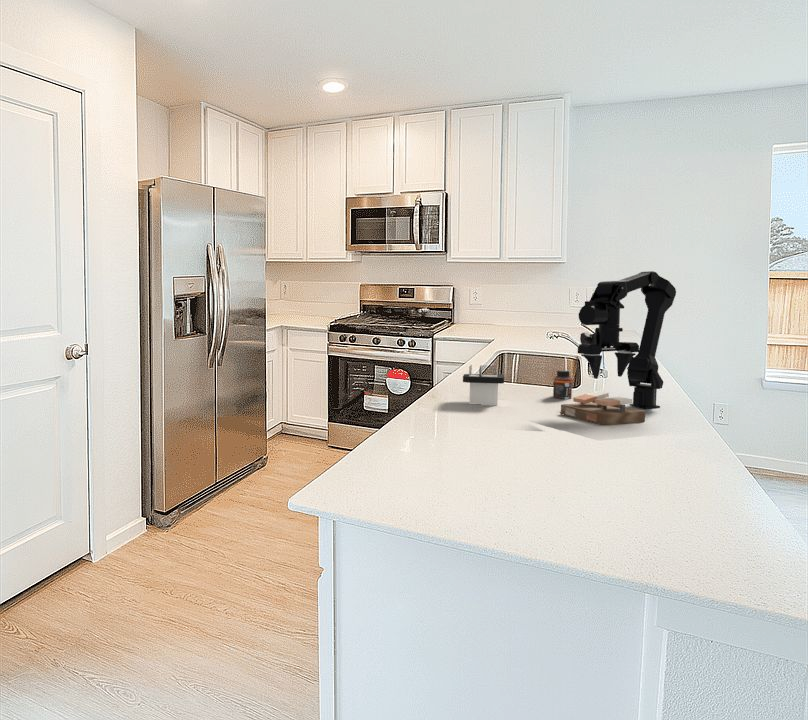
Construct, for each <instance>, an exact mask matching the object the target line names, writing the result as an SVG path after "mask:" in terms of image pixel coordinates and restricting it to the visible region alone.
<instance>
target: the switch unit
mask: <svg viewBox="0 0 808 720" xmlns="http://www.w3.org/2000/svg"><path fill="white" fill-rule="evenodd" d="M561 414H564V415H563V416H565V415H566V416H565V417H569V418H574V419H578V420H582V421H585V422H590V423H592V424H593V423H594V424H598V425H602V426H608V425H609V426H610V425H619V424H620V425H621V424H633V423H642V422H643V423H644V422H645V421H646V410H641V409H637V408H631V407H627V406H626V404H622V405H620V408H617V407H613V406H604V405H599V404H595V403H593V402H590V403H587V404H583V403H578V402H576V403H565V404H560V415H561Z"/></svg>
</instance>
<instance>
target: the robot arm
mask: <svg viewBox="0 0 808 720" xmlns="http://www.w3.org/2000/svg"><path fill="white" fill-rule="evenodd" d="M596 285H597V286H596V288H594V289H595V290H594V291H593V293H592V296H591V297H590V299H589V300H586V301H584V305H583V306H582V307H581V308H580V309H579V312H578V319H579V321H580V323H581V324H582V325H584V326H598V327H595V329H594V333H589V332H588V331H587V332H582V333H580V338H579V340H580V344H579V345H578V346H577V354H580V356H581V357H584V358H585V359H586V361H587V362H588V364H589V367H590V370H591V373H592V377H593V378H594V379H598V378H599V375H600V368H601V365H602V359H603V355H601V353H603V352H614V355H615V356H616V359H617V360H616V361H617V362H616V363H617V365H616V366H617V369H616V370H617V377H622V376H623V375H624V373H625V371H626V370H627V373H626V375H627V380H628V386H629V387H633V389H634V390H633V396H632V403H631V404H629V405H630V406H632V407H637V408H641V409H655V408H657V407H658V408H660V407H661V406H660V405H657V391H658V390H660V389H662V388H663V385H664V380H663V379H662V377H661V375H660V373H659V364H658V361H657V359H656V354H657V350H658V345H659V340H660V336H661V330H662V327H663V322H664V318H665V314H666V313H667V311H668V310H669V309H670V307H672V306H673V303H674V301H675V297H676V295H677V289H676V287H675V286H674V285H673V284H672V282H671V281H670V280H668V279H666V278H664V277H662V276H661V275H659V274H658V273H657V272H656V271H653V270H652V271H651V270H650V271H649V270H648V271H640V272H638V273H636V274H634V275H631V276H629V277H625V278H622V279H619V280H607V281H600V282H598V283H597V284H596ZM638 289H640V292H641V293H642V295H644V302H645V305H646V307H647V313H646V318H645V323H644V326H643V332H642V334H641V340H640V344H639V343H637V342H634V341H633V342H632V341H631V342H630V341H620V333H621V332H624V330H623V327H620V321H621V320H620V319H621V318H620V317H621V315H620V314H621V310H622V309H625V305H624V304H623V303H622V302H621V301H622V300H623V299H624V298H626V297H627V296H628V294H629V293H631V292H633V291H636V290H638ZM636 353H637V354H636Z"/></svg>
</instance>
